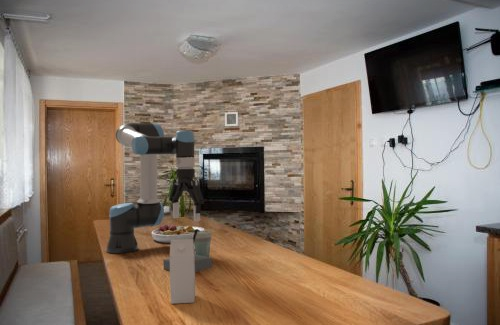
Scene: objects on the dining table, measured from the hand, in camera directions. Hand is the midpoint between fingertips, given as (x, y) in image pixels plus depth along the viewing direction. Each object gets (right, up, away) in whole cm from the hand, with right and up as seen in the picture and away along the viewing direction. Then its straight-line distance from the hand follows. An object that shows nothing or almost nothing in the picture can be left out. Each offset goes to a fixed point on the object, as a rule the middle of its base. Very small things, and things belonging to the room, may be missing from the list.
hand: (186, 219), depth 159 cm
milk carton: (+5, -20, -37) cm, 42 cm away
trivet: (+1, -20, 0) cm, 20 cm away
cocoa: (+1, -16, 0) cm, 16 cm away
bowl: (-15, -21, +64) cm, 69 cm away
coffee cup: (+5, -20, +15) cm, 25 cm away
